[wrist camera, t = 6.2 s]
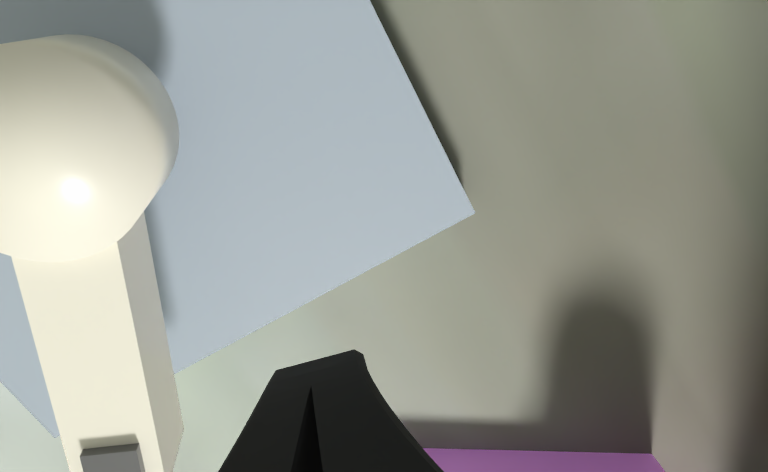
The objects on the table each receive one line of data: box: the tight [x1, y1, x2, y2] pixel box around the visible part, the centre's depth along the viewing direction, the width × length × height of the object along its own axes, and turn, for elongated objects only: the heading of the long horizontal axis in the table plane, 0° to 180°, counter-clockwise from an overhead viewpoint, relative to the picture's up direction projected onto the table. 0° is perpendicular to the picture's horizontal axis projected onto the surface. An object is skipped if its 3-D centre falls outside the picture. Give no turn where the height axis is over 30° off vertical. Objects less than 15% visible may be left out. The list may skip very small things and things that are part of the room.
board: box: [0, 0, 475, 438], centre depth 14 cm, size 14×14×6 cm
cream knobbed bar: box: [0, 34, 184, 472], centre depth 14 cm, size 10×4×3 cm, turn 2°
